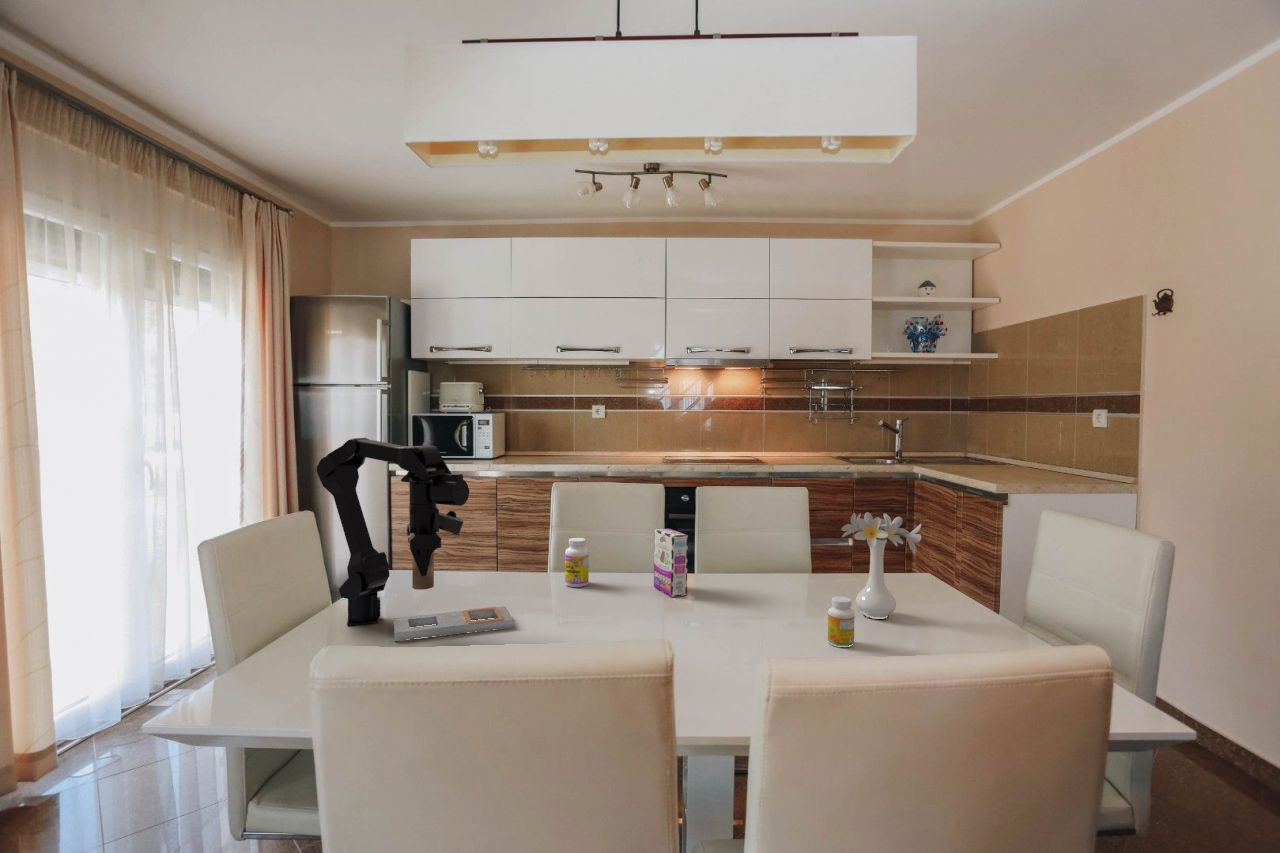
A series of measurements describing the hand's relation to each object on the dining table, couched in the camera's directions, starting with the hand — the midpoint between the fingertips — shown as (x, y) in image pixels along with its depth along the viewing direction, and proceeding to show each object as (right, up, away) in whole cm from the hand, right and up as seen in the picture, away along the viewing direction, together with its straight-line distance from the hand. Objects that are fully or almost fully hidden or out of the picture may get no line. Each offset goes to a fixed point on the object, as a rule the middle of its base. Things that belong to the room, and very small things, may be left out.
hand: (423, 573), depth 143 cm
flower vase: (+106, -14, +14) cm, 108 cm away
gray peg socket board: (+6, -13, +3) cm, 14 cm away
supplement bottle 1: (+30, -12, +39) cm, 51 cm away
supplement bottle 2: (+91, -14, -5) cm, 92 cm away
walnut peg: (0, -3, 0) cm, 3 cm away
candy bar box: (+56, -13, +33) cm, 66 cm away
